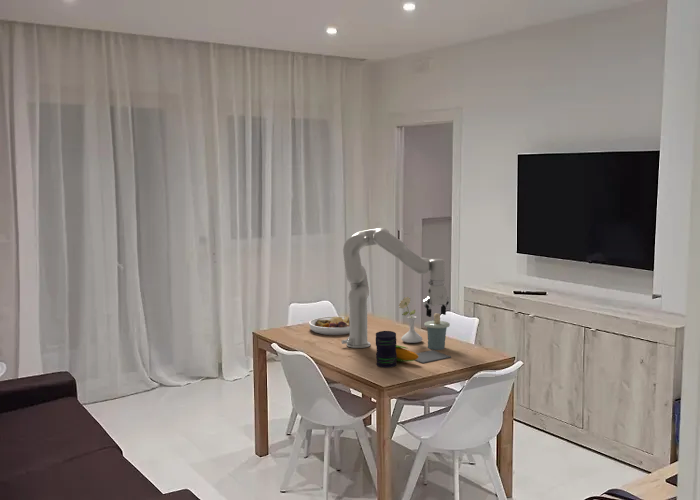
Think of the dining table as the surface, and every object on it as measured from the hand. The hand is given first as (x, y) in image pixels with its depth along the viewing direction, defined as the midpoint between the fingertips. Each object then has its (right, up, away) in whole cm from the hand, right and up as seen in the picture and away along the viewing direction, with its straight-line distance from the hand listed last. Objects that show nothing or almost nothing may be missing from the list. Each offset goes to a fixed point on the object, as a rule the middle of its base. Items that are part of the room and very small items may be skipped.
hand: (436, 315), depth 343 cm
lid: (+1, -5, 0) cm, 5 cm away
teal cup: (+1, -17, +2) cm, 17 cm away
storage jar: (-27, -21, -28) cm, 44 cm away
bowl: (-53, -13, +43) cm, 70 cm away
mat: (-6, -19, -15) cm, 25 cm away
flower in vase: (-12, -16, +14) cm, 24 cm away
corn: (-21, -20, -23) cm, 37 cm away
